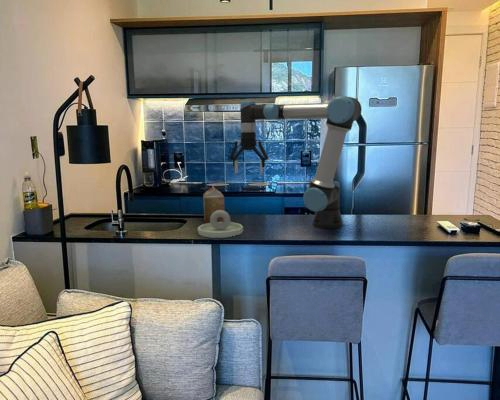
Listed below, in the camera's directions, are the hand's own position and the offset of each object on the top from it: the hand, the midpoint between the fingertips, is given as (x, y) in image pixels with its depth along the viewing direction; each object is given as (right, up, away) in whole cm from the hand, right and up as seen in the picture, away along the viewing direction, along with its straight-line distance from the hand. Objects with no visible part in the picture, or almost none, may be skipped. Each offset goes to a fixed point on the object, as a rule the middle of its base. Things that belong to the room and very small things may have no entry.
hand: (249, 173), depth 220 cm
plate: (-14, -29, -11) cm, 35 cm away
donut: (-14, -29, -12) cm, 34 cm away
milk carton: (-19, -25, +13) cm, 34 cm away
